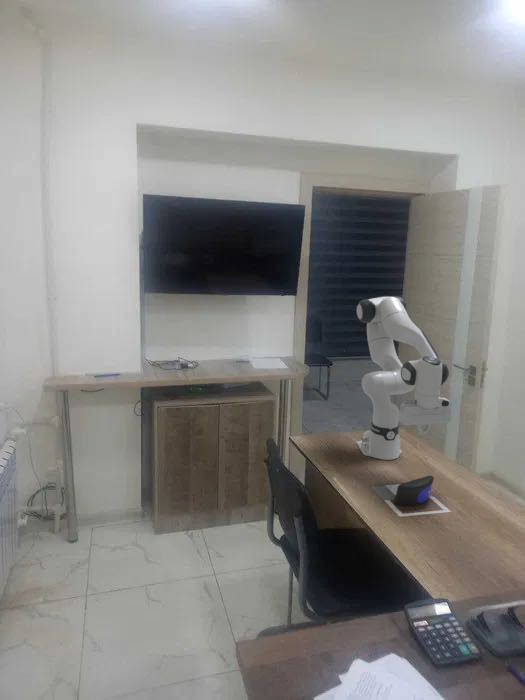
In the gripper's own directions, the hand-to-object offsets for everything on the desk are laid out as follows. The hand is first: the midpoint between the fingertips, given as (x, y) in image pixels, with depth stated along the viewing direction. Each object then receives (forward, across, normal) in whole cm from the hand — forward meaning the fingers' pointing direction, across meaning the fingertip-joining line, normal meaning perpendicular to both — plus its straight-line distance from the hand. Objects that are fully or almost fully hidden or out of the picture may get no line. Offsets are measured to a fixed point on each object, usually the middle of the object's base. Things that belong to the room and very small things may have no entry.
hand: (422, 434), depth 192 cm
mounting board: (+22, -8, -10) cm, 26 cm away
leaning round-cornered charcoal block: (+21, -8, -11) cm, 25 cm away
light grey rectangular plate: (+21, -8, -5) cm, 23 cm away
